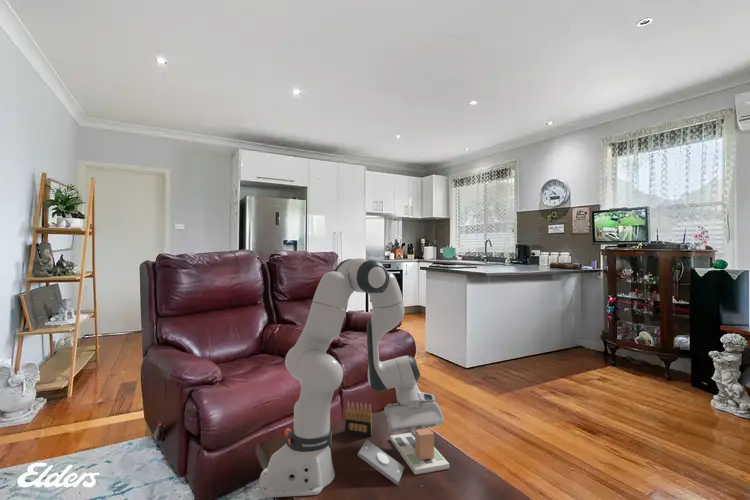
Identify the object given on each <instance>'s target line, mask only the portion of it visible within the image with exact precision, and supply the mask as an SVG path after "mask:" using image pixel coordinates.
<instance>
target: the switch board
mask: <svg viewBox="0 0 750 500" xmlns="http://www.w3.org/2000/svg"><path fill="white" fill-rule="evenodd" d="M389 437H390V439H389V440H390V441H391V442H392V444H393V446H394V447H395V449H396V450H397V451H398V453H399V454H400V456H401V457H402V458H403V460H404V461H405V463H406V464H407V466H408V467H409V468H410V469H411V471H412V472H413V475H420V474H427V473H432V472H437V471H442V470H443V471H445V470H448V469H450V463H449V462H448V461H447V460H446V458H445V457H444V455H442V453H440V451H439V450H438V449H437V448H436V447H435V446H434V458H430V459H424V460H419V458H418V457H417V456H416V454H415V437H414V436H413V435H412V434H411V433H410V432H407V433H399V434H398V433H397V434H393V435H392V434H391V435H390V436H389Z"/></svg>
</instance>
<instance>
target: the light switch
mask: <svg viewBox="0 0 750 500" xmlns="http://www.w3.org/2000/svg"><path fill="white" fill-rule="evenodd" d="M357 456H358V457H359V458H360V459H361V460H363V461H364V462H365V463H367V464H368V465H370V466H371V467H372V468H373V469H375V471H378V472H379V473H380V474H382V475H383V476H385V478H387V479H388V480H390V481H391V482H392V483H393V484H395V485H396V486H397V485H398V484H399V482H400V480H401V478H402V475H403V473H404V470H405V466H404V465H402V463H400V462H399V461H397V460H396V459H395V458H393V457H392V456H390V455H389V454H387V452H385V451H383V450H382V449H381V448H379V447H378V445H377V446H376V444H374V443H372V441H370V440H368V439H366V440H365V442H364V443H363V444H362V446H361V448H360V449H359V451H358V453H357Z"/></svg>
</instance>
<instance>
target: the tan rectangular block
mask: <svg viewBox="0 0 750 500" xmlns="http://www.w3.org/2000/svg"><path fill="white" fill-rule="evenodd" d="M434 447H435V432H433V431H432V430H431V428H430V427H427V428H426V429H416V430H415V454H416V456H417V457H418V458H419V460H424V459H430V458H434Z"/></svg>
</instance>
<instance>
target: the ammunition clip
mask: <svg viewBox="0 0 750 500" xmlns="http://www.w3.org/2000/svg"><path fill="white" fill-rule="evenodd" d="M359 404H360V405H359ZM345 409H346V411H345V421H344V422H345V425H344V426H345V427H344V433H347V434H353V435H359V436H364V437H365V436H366V437H372V436H373V413H372V404H371V403H369V404H368V406H367V403H366V402H365V403H364V405H363V402H360V403H359V402H358V401H356V402H355V404H354V401H351V404H350V401H349V400H347V402H346V408H345Z"/></svg>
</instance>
